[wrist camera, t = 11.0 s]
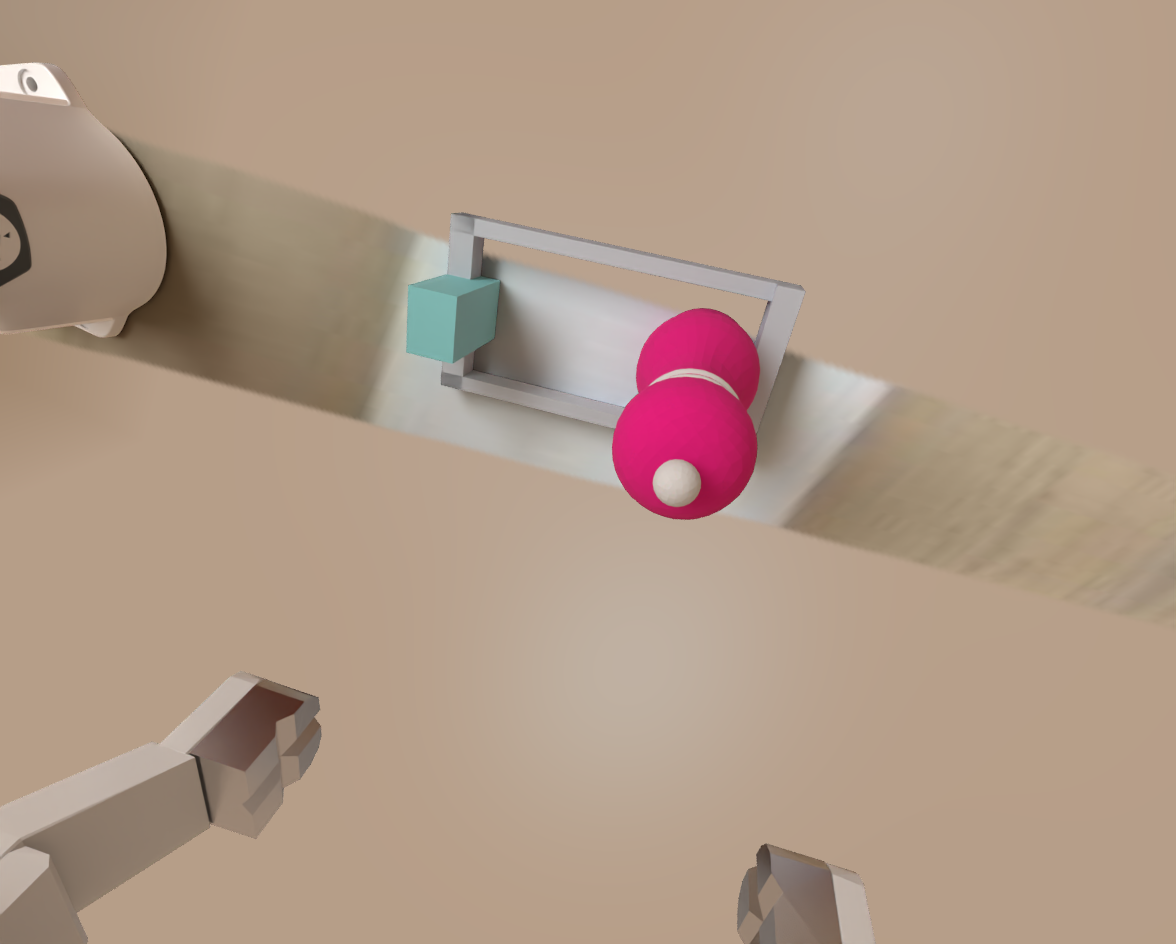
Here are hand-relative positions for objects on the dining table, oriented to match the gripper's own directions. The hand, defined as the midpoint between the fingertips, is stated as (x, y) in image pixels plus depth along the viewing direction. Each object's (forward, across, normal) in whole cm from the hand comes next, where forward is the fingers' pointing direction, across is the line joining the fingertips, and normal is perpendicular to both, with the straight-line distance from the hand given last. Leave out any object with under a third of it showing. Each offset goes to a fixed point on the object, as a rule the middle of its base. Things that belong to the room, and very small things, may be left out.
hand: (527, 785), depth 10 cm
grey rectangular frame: (+32, +5, 0) cm, 32 cm away
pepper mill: (+32, -2, 0) cm, 32 cm away
